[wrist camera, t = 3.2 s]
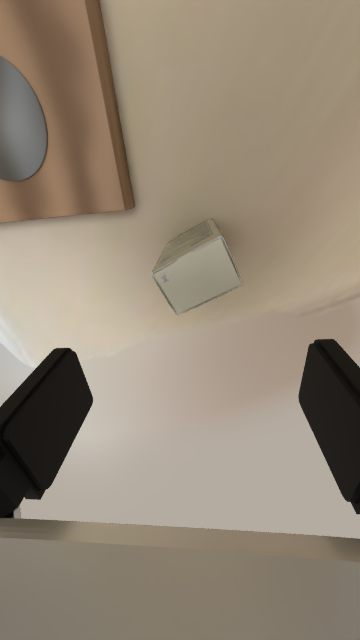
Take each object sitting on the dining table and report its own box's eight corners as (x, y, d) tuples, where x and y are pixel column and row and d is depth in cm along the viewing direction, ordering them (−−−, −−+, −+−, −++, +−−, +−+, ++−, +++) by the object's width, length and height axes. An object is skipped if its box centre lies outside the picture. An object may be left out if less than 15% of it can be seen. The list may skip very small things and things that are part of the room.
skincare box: (183, 272, 30) (173, 318, 20) (166, 242, 29) (145, 275, 18) (229, 249, 29) (245, 286, 18) (214, 215, 27) (222, 234, 16)
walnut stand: (97, -8, 19) (71, -57, 15) (134, 207, 27) (123, 210, 23) (-109, 37, 21) (-176, 4, 18) (-20, 222, 29) (-53, 228, 25)
